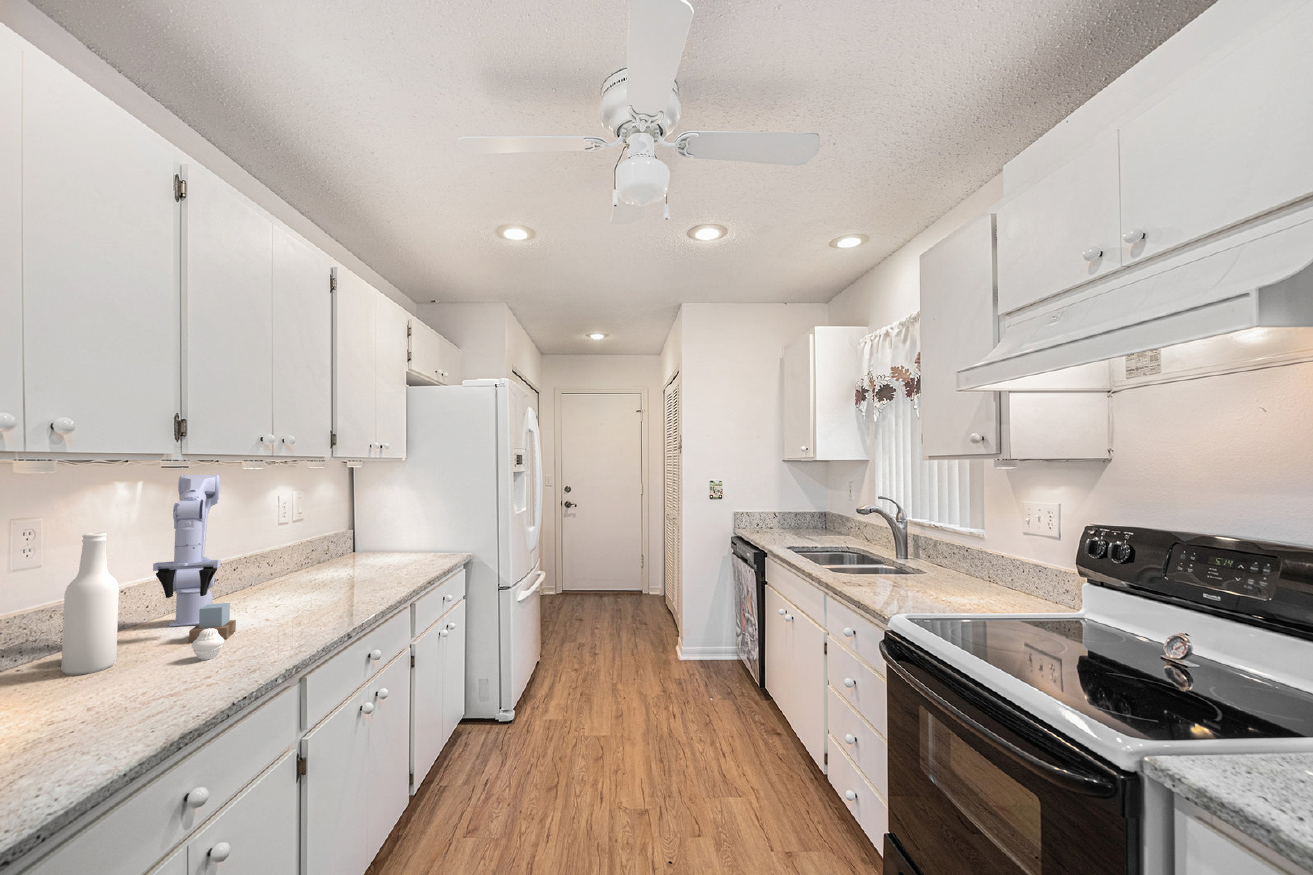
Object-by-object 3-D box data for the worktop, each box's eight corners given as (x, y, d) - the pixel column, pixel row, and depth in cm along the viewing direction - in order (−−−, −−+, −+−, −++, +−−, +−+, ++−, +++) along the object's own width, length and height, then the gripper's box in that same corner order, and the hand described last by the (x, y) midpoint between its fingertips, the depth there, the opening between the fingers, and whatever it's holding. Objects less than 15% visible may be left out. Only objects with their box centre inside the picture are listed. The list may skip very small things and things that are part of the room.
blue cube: (207, 623, 157) (207, 604, 157) (229, 621, 158) (229, 602, 158) (199, 628, 152) (199, 608, 152) (221, 626, 153) (221, 607, 154)
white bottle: (124, 665, 133) (130, 532, 135) (74, 678, 125) (80, 536, 126) (102, 660, 137) (107, 530, 138) (52, 673, 128) (58, 534, 130)
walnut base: (199, 636, 157) (200, 622, 157) (235, 632, 160) (235, 619, 160) (188, 644, 150) (189, 630, 150) (226, 641, 153) (226, 627, 153)
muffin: (230, 654, 141) (231, 625, 141) (207, 663, 135) (208, 632, 135) (208, 653, 142) (209, 623, 142) (184, 661, 136) (185, 631, 136)
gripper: (147, 548, 152) (145, 601, 151) (213, 545, 156) (211, 597, 156) (161, 544, 159) (159, 595, 158) (224, 542, 163) (222, 592, 162)
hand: (186, 596), depth 157 cm, fingers open, 7 cm apart
